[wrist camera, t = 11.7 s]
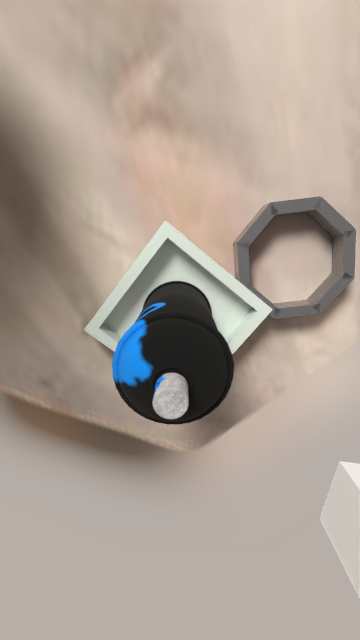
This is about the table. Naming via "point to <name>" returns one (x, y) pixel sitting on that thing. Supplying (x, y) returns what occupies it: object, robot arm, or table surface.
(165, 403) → the aerosol can
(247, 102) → the table surface
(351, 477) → the robot arm
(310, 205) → the collar
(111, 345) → the tray
